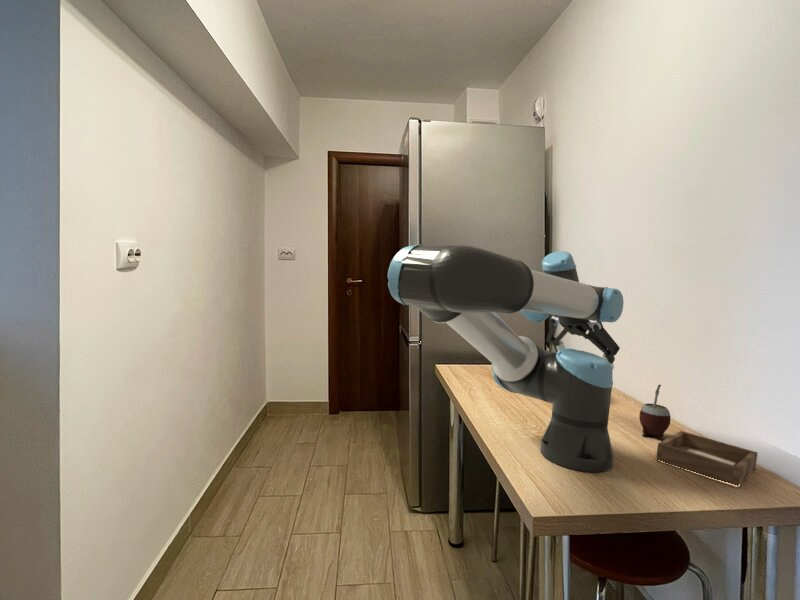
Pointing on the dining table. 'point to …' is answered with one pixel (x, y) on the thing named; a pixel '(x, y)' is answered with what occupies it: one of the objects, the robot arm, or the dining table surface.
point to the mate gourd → (654, 419)
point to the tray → (708, 457)
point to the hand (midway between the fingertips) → (586, 365)
